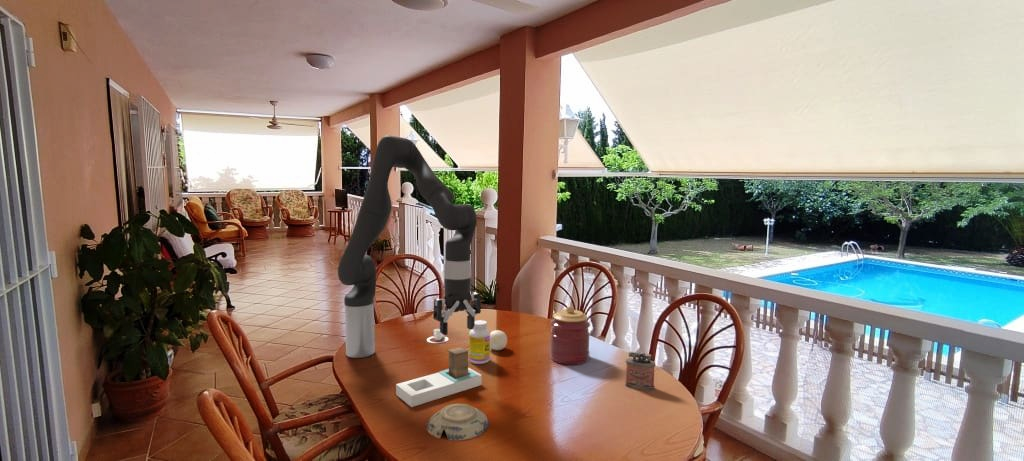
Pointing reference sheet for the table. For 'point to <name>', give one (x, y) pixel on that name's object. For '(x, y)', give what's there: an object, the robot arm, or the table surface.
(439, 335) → the teacup and saucer
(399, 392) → the socket rail
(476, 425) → the decorative bowl
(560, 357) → the canister
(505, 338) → the baseball
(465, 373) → the walnut peg
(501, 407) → the table surface
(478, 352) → the supplement bottle
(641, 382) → the lighter
